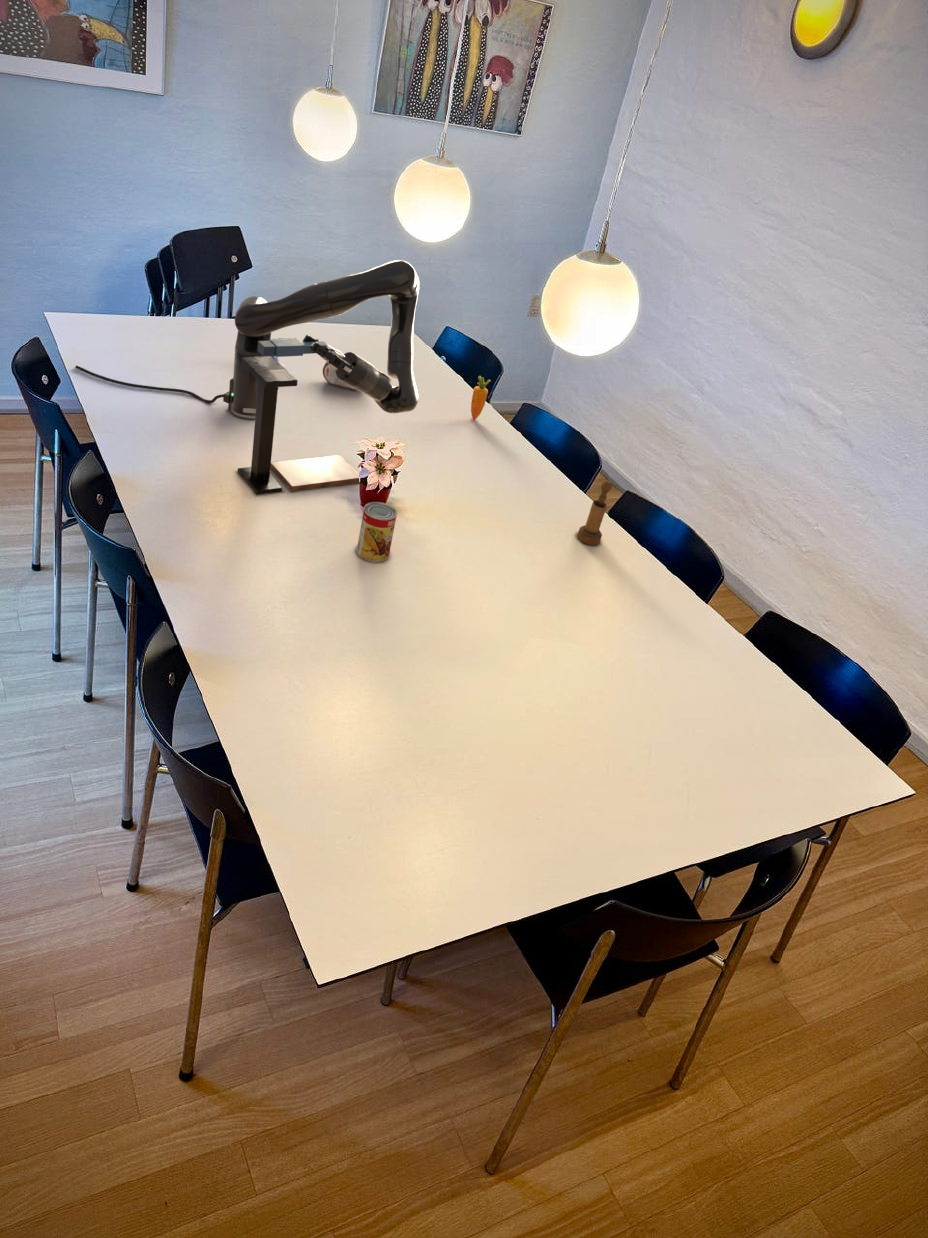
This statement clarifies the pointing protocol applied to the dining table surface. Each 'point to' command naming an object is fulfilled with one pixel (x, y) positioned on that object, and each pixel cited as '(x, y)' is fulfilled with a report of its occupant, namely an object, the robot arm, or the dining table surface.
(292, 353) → the stepped blue block
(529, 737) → the dining table surface
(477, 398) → the carrot
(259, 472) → the stand
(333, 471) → the board
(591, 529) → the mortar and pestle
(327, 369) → the tin
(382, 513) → the canned food
